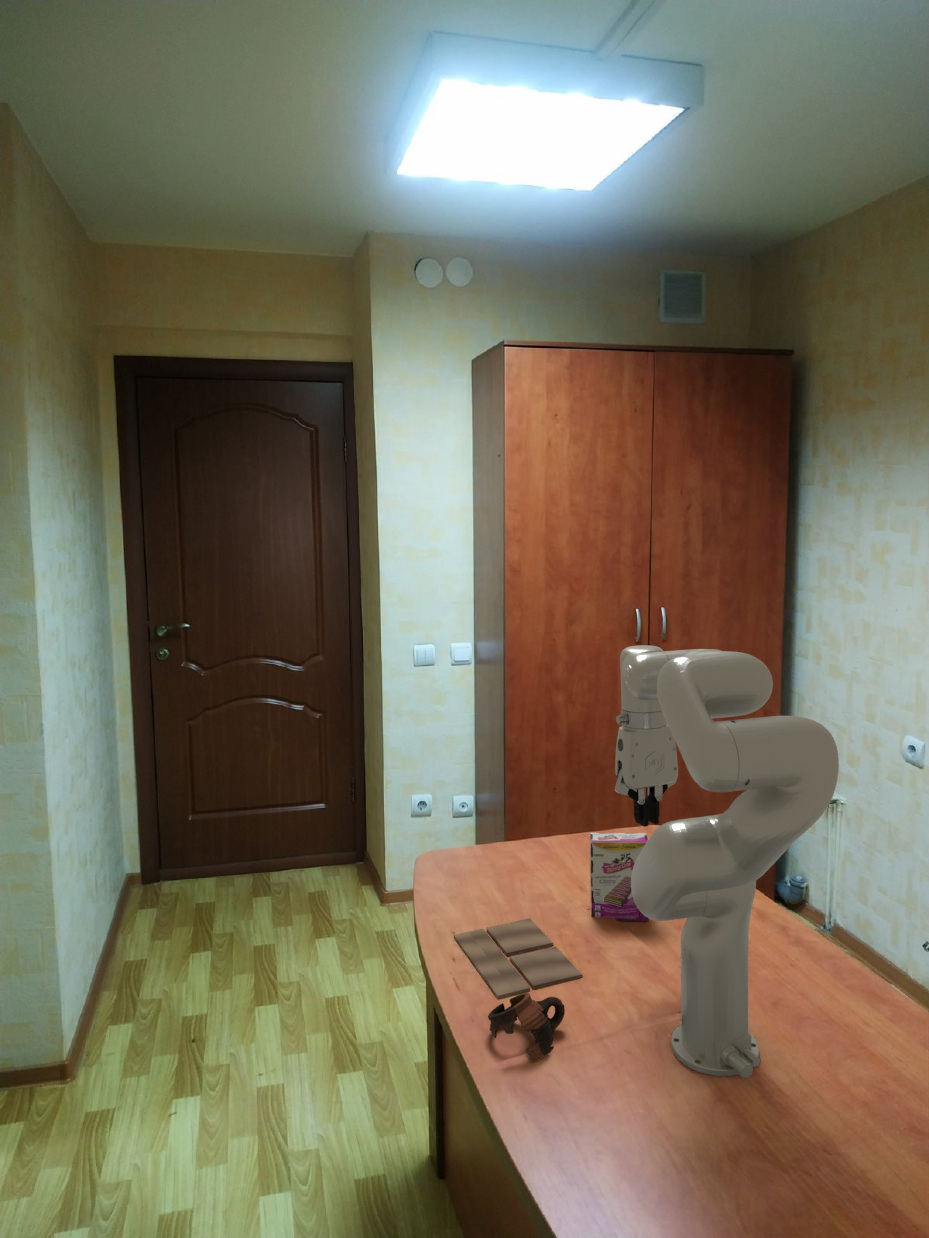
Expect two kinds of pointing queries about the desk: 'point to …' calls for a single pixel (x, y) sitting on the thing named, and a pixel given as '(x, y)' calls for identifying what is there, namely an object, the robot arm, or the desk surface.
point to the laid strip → (491, 964)
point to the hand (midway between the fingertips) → (646, 822)
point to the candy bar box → (614, 874)
